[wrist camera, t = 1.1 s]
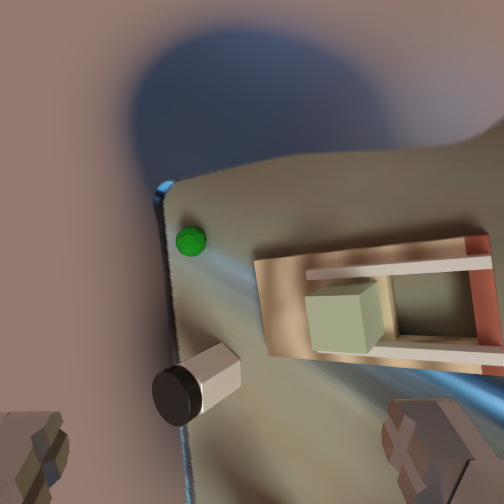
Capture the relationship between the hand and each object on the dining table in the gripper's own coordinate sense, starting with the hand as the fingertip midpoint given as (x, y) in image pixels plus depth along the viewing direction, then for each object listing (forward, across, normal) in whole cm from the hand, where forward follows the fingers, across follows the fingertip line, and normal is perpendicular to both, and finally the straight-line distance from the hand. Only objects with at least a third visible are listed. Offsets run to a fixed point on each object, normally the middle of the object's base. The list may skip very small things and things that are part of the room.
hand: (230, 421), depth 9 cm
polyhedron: (+48, +4, +16) cm, 51 cm away
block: (+28, -15, +16) cm, 35 cm away
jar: (+39, +1, +36) cm, 53 cm away
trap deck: (+29, -18, +16) cm, 37 cm away
